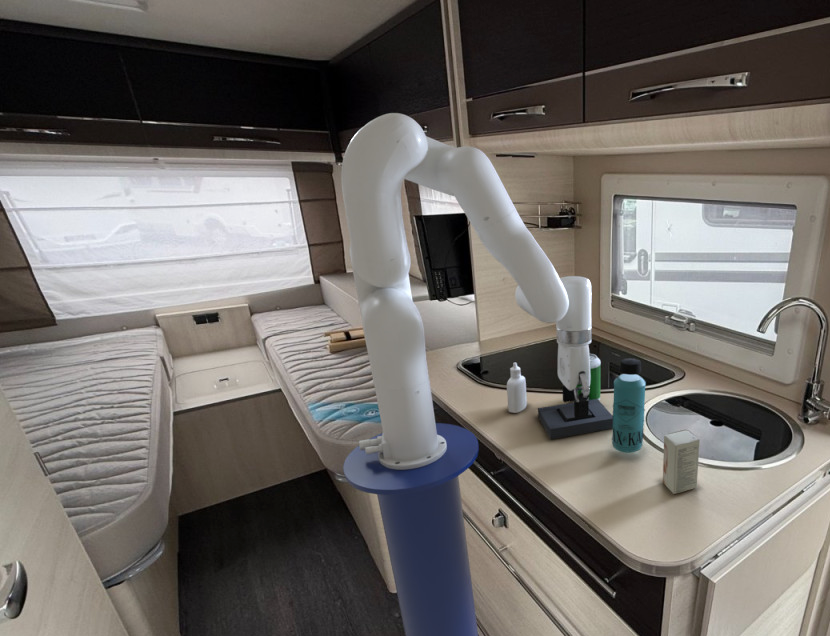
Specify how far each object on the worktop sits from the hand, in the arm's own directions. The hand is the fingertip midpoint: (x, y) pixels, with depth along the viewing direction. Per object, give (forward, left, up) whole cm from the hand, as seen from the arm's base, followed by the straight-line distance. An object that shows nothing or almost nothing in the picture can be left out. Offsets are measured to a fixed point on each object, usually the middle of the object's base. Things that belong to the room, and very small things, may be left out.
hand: (575, 408), depth 107 cm
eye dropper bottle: (-11, +12, -4) cm, 17 cm away
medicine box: (+10, -30, -4) cm, 32 cm away
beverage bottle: (+6, -16, -4) cm, 18 cm away
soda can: (+6, +10, -4) cm, 12 cm away
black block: (0, 0, -4) cm, 4 cm away
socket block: (0, 0, -4) cm, 4 cm away
